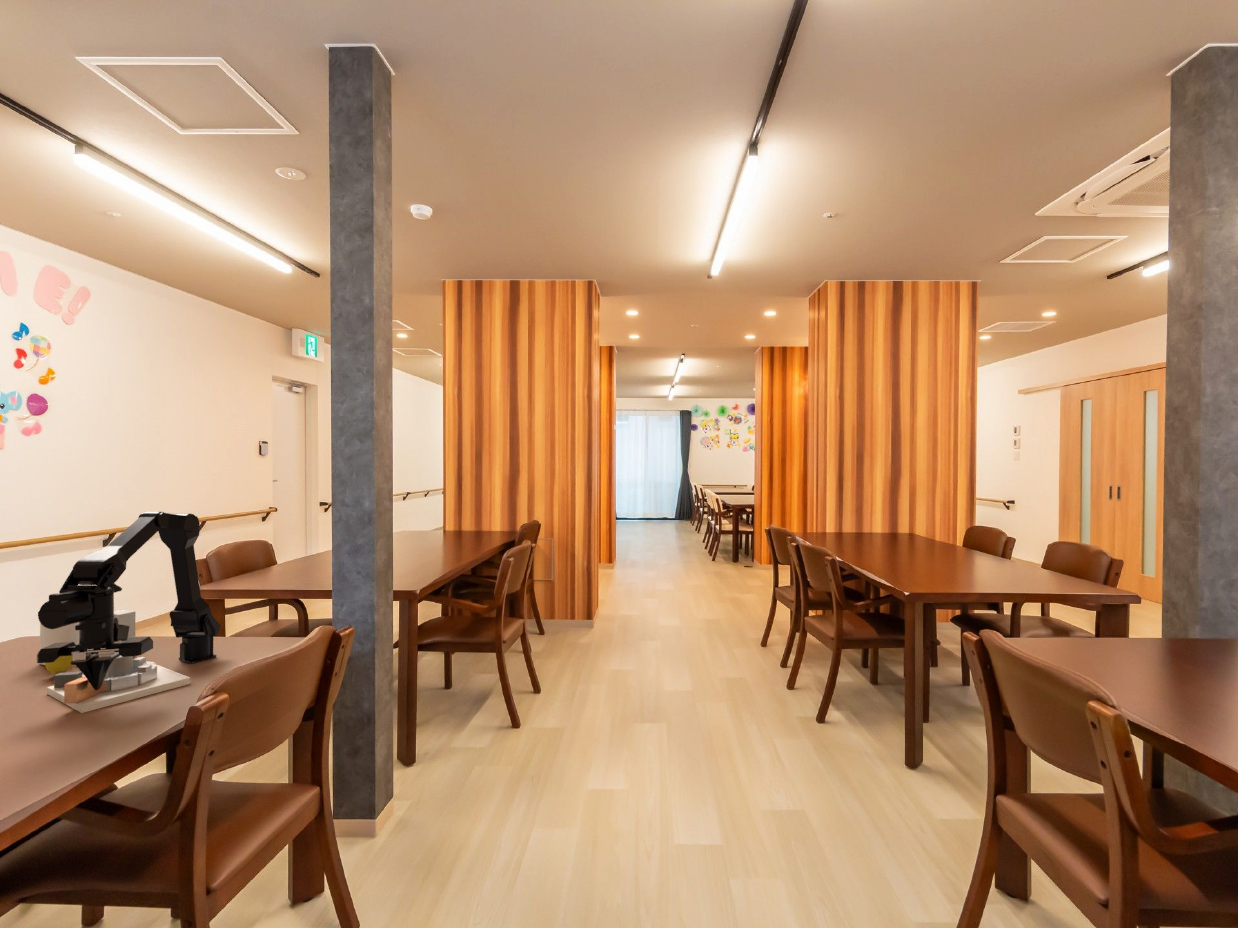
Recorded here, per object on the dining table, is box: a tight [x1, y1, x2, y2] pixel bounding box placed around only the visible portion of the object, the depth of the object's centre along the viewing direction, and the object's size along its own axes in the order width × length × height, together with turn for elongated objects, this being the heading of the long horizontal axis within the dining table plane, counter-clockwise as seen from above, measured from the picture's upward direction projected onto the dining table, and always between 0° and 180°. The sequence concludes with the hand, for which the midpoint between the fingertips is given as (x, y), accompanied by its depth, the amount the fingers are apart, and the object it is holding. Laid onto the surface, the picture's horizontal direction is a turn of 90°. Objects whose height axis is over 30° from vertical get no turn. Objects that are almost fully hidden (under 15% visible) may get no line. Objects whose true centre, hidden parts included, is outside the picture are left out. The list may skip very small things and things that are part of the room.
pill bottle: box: [39, 622, 79, 666], centre depth 159 cm, size 8×8×15 cm
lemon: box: [44, 655, 74, 675], centre depth 148 cm, size 6×6×8 cm
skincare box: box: [104, 609, 136, 649], centre depth 164 cm, size 6×4×12 cm
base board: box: [46, 656, 191, 714], centre depth 140 cm, size 20×20×8 cm
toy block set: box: [63, 656, 158, 704], centre depth 137 cm, size 20×13×4 cm, turn 1°
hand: (97, 689), depth 130 cm, fingers closed
